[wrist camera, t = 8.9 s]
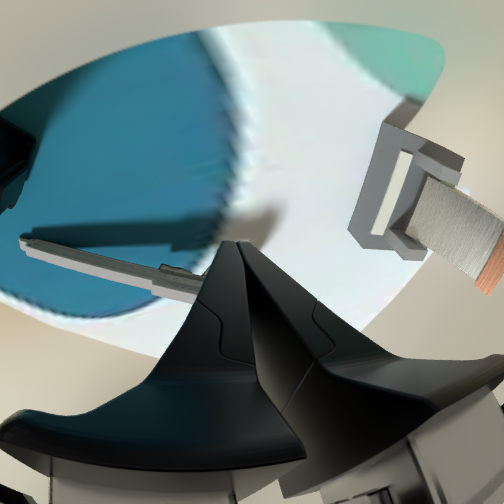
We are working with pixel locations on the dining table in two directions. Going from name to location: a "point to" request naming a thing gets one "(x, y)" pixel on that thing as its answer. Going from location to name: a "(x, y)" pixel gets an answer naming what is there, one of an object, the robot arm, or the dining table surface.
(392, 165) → the breaker housing
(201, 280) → the caliper
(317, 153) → the dining table surface
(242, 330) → the robot arm
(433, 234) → the toggle lever
